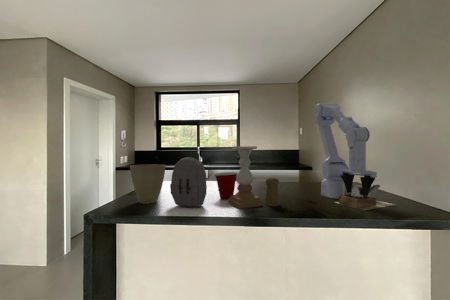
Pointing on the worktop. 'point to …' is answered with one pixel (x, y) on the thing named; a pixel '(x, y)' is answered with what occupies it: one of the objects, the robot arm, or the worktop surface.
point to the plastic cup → (226, 184)
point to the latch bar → (373, 189)
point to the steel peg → (356, 192)
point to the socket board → (362, 202)
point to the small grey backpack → (188, 183)
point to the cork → (272, 192)
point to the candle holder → (244, 182)
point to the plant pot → (147, 181)
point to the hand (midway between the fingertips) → (357, 194)
